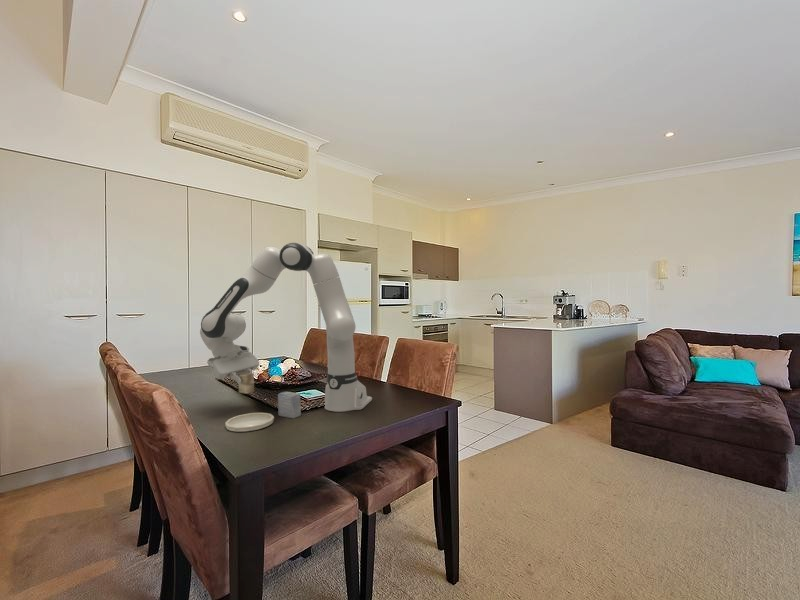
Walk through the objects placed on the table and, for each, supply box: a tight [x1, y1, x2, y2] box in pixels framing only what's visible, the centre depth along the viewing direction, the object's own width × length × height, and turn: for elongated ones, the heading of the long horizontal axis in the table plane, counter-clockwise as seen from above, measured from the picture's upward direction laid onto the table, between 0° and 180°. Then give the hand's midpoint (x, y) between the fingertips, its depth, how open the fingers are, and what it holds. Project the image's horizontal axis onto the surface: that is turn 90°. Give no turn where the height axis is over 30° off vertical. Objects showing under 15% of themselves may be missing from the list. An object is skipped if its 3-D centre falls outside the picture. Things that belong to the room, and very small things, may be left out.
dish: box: [224, 412, 275, 433], centre depth 139 cm, size 16×16×2 cm
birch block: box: [237, 372, 255, 394], centre depth 152 cm, size 4×4×7 cm
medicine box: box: [277, 391, 302, 419], centre depth 148 cm, size 8×4×9 cm, turn 59°
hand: (246, 380), depth 152 cm, fingers closed on birch block, 4 cm apart
